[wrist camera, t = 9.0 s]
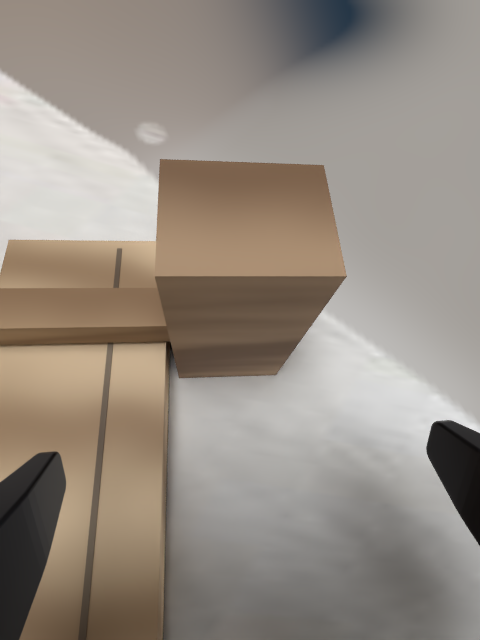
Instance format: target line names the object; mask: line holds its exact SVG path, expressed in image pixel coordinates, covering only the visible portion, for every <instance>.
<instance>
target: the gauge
mask: <svg viewBox="0 0 480 640" xmlns="http://www.w3.org/2000/svg"><path fill="white" fill-rule="evenodd" d="M159 172H160V173H159V193H158V214H157V236H156V258H155V280H156V284H157V288H0V345H13V344H63V343H113V342H163V341H170V342H171V346H172V350H173V355H174V359H175V363H176V367H177V371H178V375H179V378H196V377H227V376H259V375H276V374H277V372H278V371H279V370H280V368H281V367H282V366H283V364H284V363H285V361H286V360H287V359H288V357H289V356H290V354H291V353H292V352H293V350H294V349H295V347H296V346H297V345H298V343H299V342H300V340H301V339H302V338H303V336H304V335H305V334H306V332H307V331H308V329H309V328H310V327H311V325H312V324H313V322H314V321H315V320H316V318H317V317H318V315H319V314H320V313H321V311H322V310H323V308H324V307H325V306H326V304H327V303H328V302H329V300H330V299H331V297H332V296H333V295H334V293H335V292H336V290H337V289H338V287H339V286H340V285H341V283H342V282H343V281H344V279H345V278H346V277H347V276H346V271H345V266H344V261H343V257H342V252H341V247H340V242H339V237H338V232H337V227H336V223H335V218H334V213H333V208H332V203H331V198H330V193H329V189H328V184H327V179H326V174H325V169H324V166H323V165H301V164H276V163H247V162H221V161H194V160H192V161H191V160H167V159H160V171H159Z"/></svg>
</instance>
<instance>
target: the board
mask: <svg viewBox="0 0 480 640" xmlns="http://www.w3.org/2000/svg"><path fill="white" fill-rule="evenodd" d="M155 258H156V241H70V240H9V241H8V245H7V249H6V253H5V257H4V261H3V265H2V269H1V273H0V288H157V284H156V280H155ZM169 362H170V341H163V342H113V343H63V344H13V345H0V482H1V481H2V480H4V479H5V478H6V477H8V476H9V475H10V474H11V473H13V472H14V471H15V470H17V469H18V468H19V467H20V466H22V465H23V464H24V463H26V462H27V461H28V460H30V459H31V458H32V457H33V456H35V455H36V454H38V453H41V452H51V451H57V452H59V454H60V455H61V459H62V464H63V468H64V472H65V477H66V490H65V494H64V498H63V502H62V506H61V510H60V514H59V518H58V522H57V526H56V530H55V534H54V538H53V542H52V546H51V550H50V553H49V557H48V560H47V564H46V567H45V570H44V573H43V576H42V578H41V581H40V584H39V587H38V589H37V592H36V595H35V598H34V600H33V603H32V606H31V609H30V611H29V614H28V617H27V620H26V623H25V625H24V628H23V631H22V634H21V636H20V639H19V640H163V610H164V569H165V528H166V486H167V445H168V403H169Z"/></svg>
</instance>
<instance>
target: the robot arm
mask: <svg viewBox="0 0 480 640" xmlns="http://www.w3.org/2000/svg"><path fill="white" fill-rule="evenodd" d="M426 449H427V455H428V457H429V459H430V461H431V463H432V465H433V467H434V469H435V471H436V472H437V474H438V476H439V478H440V480H441V482H442V484H443V485H444V487H445V489H446V491H447V493H448V495H449V496H450V498H451V500H452V502H453V504H454V506H455V507H456V509H457V511H458V513H459V514H460V516H461V518H462V519H463V521H464V522H465V524H466V526H467V527H468V529H469V530H470V532H471V533H472V535H473V536H474V538H475V539H476V541H477V542H478V544H479V545H480V433H478V432H476V431H474V430H471V429H469V428H467V427H465V426H463V425H460V424H458V423H456V422H454V421H450V420H445V421H436V422H434V423H433V424H432V427H431V431H430V435H429V439H428V443H427V447H426ZM65 490H66V477H65V472H64V468H63V464H62V459H61V455H60V454H59V452H57V451H51V452H41V453H38V454H36V455H35V456H33V457H32V458H31V459H30V460H28V461H27V462H26V463H24V464H23V465H22V466H20V467H19V468H18V469H17V470H15V471H14V472H13V473H11V474H10V475H9V476H8V477H6V478H5V479H4V480H2V481H1V482H0V640H19V639H20V636H21V634H22V631H23V628H24V625H25V623H26V620H27V617H28V614H29V611H30V609H31V606H32V603H33V600H34V598H35V595H36V592H37V589H38V587H39V584H40V581H41V578H42V576H43V573H44V570H45V567H46V564H47V560H48V557H49V553H50V550H51V546H52V542H53V538H54V534H55V530H56V526H57V522H58V518H59V514H60V510H61V506H62V502H63V498H64V494H65Z"/></svg>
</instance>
